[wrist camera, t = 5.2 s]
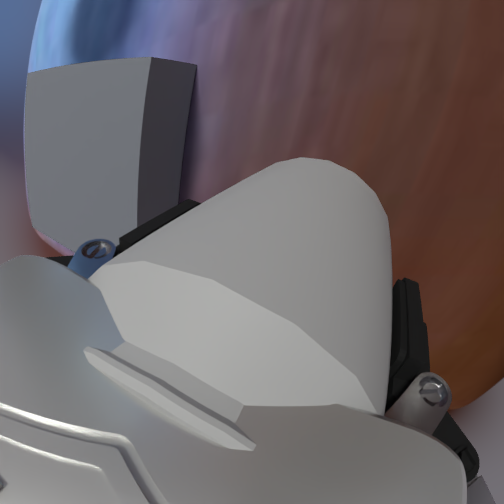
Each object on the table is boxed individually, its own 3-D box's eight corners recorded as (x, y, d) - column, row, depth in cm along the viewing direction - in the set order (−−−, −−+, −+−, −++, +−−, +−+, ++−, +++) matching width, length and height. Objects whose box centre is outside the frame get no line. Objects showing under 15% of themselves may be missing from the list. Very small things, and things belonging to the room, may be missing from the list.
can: (284, 123, 12) (-10, 210, 2) (421, 219, 12) (460, 518, 2) (220, 244, 17) (50, 401, 7) (330, 320, 16) (243, 531, 6)
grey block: (196, 64, 17) (151, 57, 13) (174, 258, 25) (138, 287, 21) (67, 70, 21) (27, 73, 17) (65, 210, 29) (32, 226, 25)
